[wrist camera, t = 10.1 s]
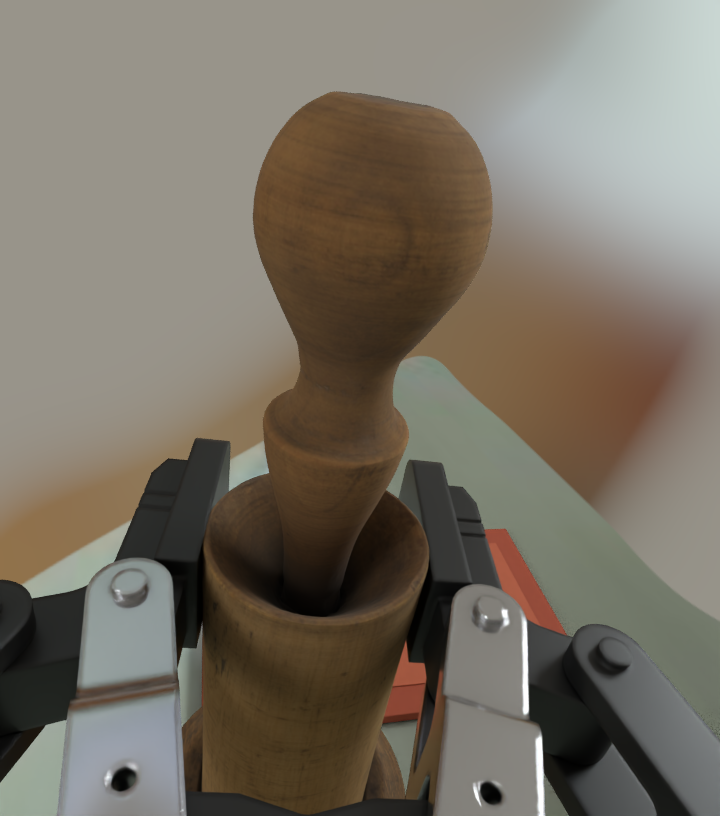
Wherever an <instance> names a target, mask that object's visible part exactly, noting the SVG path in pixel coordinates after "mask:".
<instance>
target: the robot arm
mask: <svg viewBox="0 0 720 816" xmlns="http://www.w3.org/2000/svg"><path fill="white" fill-rule="evenodd" d="M229 469H230V442H229V441H222V440H212V439H202V438H196V439H195V441H194V444H193V446H192V450H191V452H190V455H189V458H188V460H179V459H169V458H168V459H167V460H166V461H165V462H163V463H162V464H161V465H160V466H159V467H158V468H157V469H155V470H154V471H153V472H152V473H151V476H150V478H149V481H148V483H147V485H146V488H145V492H144V493H143V495H142V497H141V500H140V502H139V507H138V508H137V509H136V511H135V514H134V516H133V519H132V521H131V523H130V526H129V528H128V530H127V533H126V535H125V538H124V540H123V542H122V545H121V547H120V549H119V552H118V554H117V557H116V559H115V561H114V563H111V564H109V565H107V566H106V567H104V568H102V569H101V570H100V571H98V572H97V573H96V574H95V575H94V576H93V578H92V579H91V581H90V582H89V584H88V585H87V586H85V587H83V588H80V589H77V590H74V591H70V592H66V593H61V594H55V595H49V596H44V597H38V598H33V599H32V598H31V596H30V593H29V592H28V591H27V589H26V588H25V587H23V586H22V585H20V584H18V583H16V582H13V581H8V580H0V782H1V781H2V780H3V779H4V777H5V776H6V775H7V774H8V772H9V771H10V770H11V769H12V767H13V766H14V765H15V764H16V762H17V761H18V760H19V759H20V757H21V756H22V755H23V753H24V752H25V751H26V750H27V748H28V747H29V746H30V745H31V743H32V742H33V741H34V740H35V738H36V737H37V736H38V735H39V733H40V732H41V731H42V730H43V728H44V727H45V725H47V724H51V723H55V722H59V721H63V720H67V723H66V733H65V742H64V752H63V761H62V771H61V781H60V790H59V800H58V810H57V816H545V793H544V774H545V775H546V777H547V779H548V781H549V782H550V784H551V786H552V787H553V789H554V791H555V792H556V794H557V796H558V798H559V799H560V801H561V803H562V804H563V806H564V808H565V809H566V811H567V813H568V815H569V816H720V740H719V738H718V737H717V736H716V735H715V734H714V732H713V731H712V730H711V729H710V728H709V727H708V725H707V724H706V723H705V722H704V721H703V720H702V718H701V717H700V716H699V715H698V714H697V712H696V711H695V710H694V709H693V708H692V707H691V705H690V704H689V703H688V702H687V701H686V700H685V698H684V697H683V696H682V695H681V694H680V692H679V691H678V690H677V689H676V688H675V687H674V685H673V684H672V683H671V682H670V681H669V680H668V678H667V677H666V676H665V675H664V674H663V673H662V671H661V670H660V669H659V668H658V667H657V665H656V664H655V663H654V662H653V661H652V660H651V658H650V657H649V656H648V655H647V654H646V653H645V651H644V650H643V649H642V648H641V647H640V646H639V645H638V644H637V643H636V642H635V641H634V640H633V639H632V638H630V637H629V636H627V635H626V634H625V633H623V632H621V631H619V630H617V629H615V628H612V627H609V626H606V625H601V624H590V625H586V626H583V627H581V628H580V629H578V630H577V632H576V633H575V635H574V637H570V636H567V635H564V634H562V633H559V632H556V631H553V630H550V629H547V628H544V627H542V626H539V625H537V624H535V623H533V622H531V621H529V620H528V619H526V616H525V613H524V611H523V609H522V608H521V606H520V605H519V604H518V603H517V602H516V600H515V599H514V598H512V597H511V596H510V595H509V594H507V593H505V592H504V591H503V589H502V586H501V583H500V580H499V576H498V573H497V570H496V566H495V563H494V560H493V557H492V553H491V550H490V547H489V543H488V540H487V538H486V534H485V530H484V527H483V524H481V517H480V514H479V511H478V507H477V504H476V502H475V501H474V500H473V499H472V498H471V496H470V495H469V494H468V493H467V492H466V490H465V489H464V488H463V487H457V486H448V483H447V479H446V475H445V471H444V467H443V465H442V463H438V462H428V461H418V460H409V461H408V463H407V466H406V469H405V474H404V478H403V482H402V486H401V491H400V495H399V500H400V501H401V502H403V503H404V504H405V505H406V506H407V507H408V508H409V509H410V510H411V511H412V512H413V514H414V515H415V516H416V517H417V519H418V520H419V522H420V523H421V525H422V528H423V530H424V532H425V534H426V538H427V541H428V547H429V564H428V570H427V574H426V578H425V581H424V584H423V588H422V591H421V594H420V598H419V601H418V604H417V607H416V610H415V613H414V617H413V620H412V623H411V626H410V629H409V632H408V636H407V639H406V644H407V653H408V661H409V662H411V663H424V664H425V671H426V681H425V684H424V687H423V690H422V695H421V701H420V708H419V714H418V721H417V728H416V734H415V741H414V748H413V754H412V761H411V768H410V774H409V781H408V786H407V791H406V795H405V799H384V798H373V799H369V800H365V801H361V802H358V803H354V804H350V805H346V806H342V807H338V808H335V809H331V810H327V811H323V812H319V813H315V814H310V815H306V814H300V813H297V812H294V811H291V810H288V809H285V808H282V807H279V806H276V805H273V804H270V803H267V802H264V801H261V800H258V799H255V798H252V797H249V796H246V795H243V794H240V793H221V792H193V791H185V779H184V761H183V743H182V725H181V708H180V690H179V679H178V671H177V668H178V664H179V660H180V656H181V652H182V648H197V644H198V639H199V635H200V630H201V626H202V621H203V594H202V545H203V539H204V535H205V531H206V527H207V523H208V519H209V515H210V512H211V510H212V509H213V507H214V506H215V505H216V504H217V502H218V501H219V500H220V499H221V498H222V497H223V496H224V495H226V494H227V493H228V492H229Z"/></svg>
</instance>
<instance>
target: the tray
mask: <svg viewBox="0 0 720 816" xmlns="http://www.w3.org/2000/svg"><path fill="white" fill-rule="evenodd" d="M485 534H486V538H487V540H488V543H489V547H490V550H491V553H492V557H493V560H494V563H495V566H496V570H497V573H498V576H499V580H500V583H501V586H502V589H503V591H504V592H505V593H507V594H509V595H510V596H511V597H512V598H514V599H515V600H516V602H517V603H518V604H519V605H520V606H521V608H522V609H523V611H524V613H525V616H526V619H528V620H529V621H531V622H533V623H535V624H537V625H539V626H542V627H544V628H547V629H550V630H553V631H556V632H559V633H562V634H564V635H567V634H566V633H565V631H564V629H563V627H562V626H561V624H560V622H559V621H558V619H557V617H556V615H555V614H554V612H553V610H552V608H551V607H550V605H549V603H548V601H547V600H546V598H545V596H544V595H543V593H542V591H541V589H540V588H539V586H538V584H537V582H536V581H535V579H534V577H533V576H532V574H531V572H530V570H529V569H528V567H527V565H526V563H525V562H524V560H523V558H522V556H521V555H520V553H519V551H518V550H517V548H516V546H515V544H514V543H513V541H512V539H511V537H510V536H509V534H508V532H507V530H506V529H487V530H485ZM425 681H426V671H425V664H424V663H411V662H409V661H408V653H407V644H406V642H405V645H404V649H403V652H402V655H401V659H400V662H399V666H398V669H397V673H396V676H395V680H394V683H393V686H392V690H391V694H390V697H389V700H388V704H387V708H386V711H385V715H384V718H383V722H382V723H389V722H397V721H405V720H413V719H418V714H419V708H420V701H421V695H422V690H423V687H424V684H425ZM202 706H203V635H202Z"/></svg>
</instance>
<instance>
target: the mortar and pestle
mask: <svg viewBox="0 0 720 816" xmlns="http://www.w3.org/2000/svg"><path fill="white" fill-rule="evenodd" d="M253 224H254V234H255V239H256V243H257V247H258V251H259V254H260V258H261V261H262V264H263V266H264V268H265V271H266V273H267V276H268V278H269V280H270V283H271V285H272V287H273V290H274V292H275V294H276V297H277V299H278V301H279V303H280V305H281V308H282V310H283V312H284V314H285V316H286V319H287V321H288V323H289V325H290V327H291V329H292V331H293V334H294V336H295V338H296V340H297V344H298V349H299V357H300V365H301V369H300V373H299V377H298V380H297V382H296V385H295V386H294V388H293V389H291V390H288V391H286V392H284V393H282V394H280V395H279V396H277V397H276V398H275V399H273V400H272V401H271V403H270V404H269V405H268V407H267V409H266V411H265V414H264V418H263V429H264V444H265V452H266V458H267V464H268V468H269V473H268V474H264V475H260V476H257V477H255V478H252V479H250V480H247V481H245V482H243V483H241V484H240V485H238V486H237V487H235V488H234V489H232V490H231V491H229V492H228V493H227V494H226V495H224V496H223V497H222V498H221V499H220V500H219V501H218V502H217V504H216V505H215V506H214V507H213V509H212V510H211V512H210V515H209V519H208V523H207V527H206V531H205V535H204V539H203V545H202V594H203V706H202V707H201V708H200V709H198V710H197V711H196V712H195V713H194V714H193V715H192V716H191V717H190V718H189V720H188V721H187V722H186V723H185V724H184V725H183V727H182V743H183V761H184V779H185V791H193V792H221V793H240V794H243V795H246V796H249V797H252V798H255V799H258V800H261V801H264V802H267V803H270V804H273V805H276V806H279V807H282V808H285V809H288V810H291V811H294V812H297V813H300V814H306V815H310V814H315V813H319V812H323V811H327V810H331V809H335V808H338V807H342V806H346V805H350V804H354V803H358V802H361V801H365V800H369V799H373V798H384V799H405V790H404V784H403V779H402V775H401V771H400V768H399V765H398V762H397V760H396V757H395V755H394V752H393V750H392V748H391V746H390V744H389V742H388V740H387V739H386V737H385V735H384V734H383V732H382V731H381V726H382V722H383V718H384V715H385V711H386V708H387V704H388V700H389V697H390V694H391V690H392V686H393V683H394V680H395V676H396V673H397V669H398V666H399V662H400V659H401V655H402V652H403V649H404V645H405V642H406V639H407V636H408V632H409V629H410V626H411V623H412V620H413V617H414V613H415V610H416V607H417V604H418V601H419V598H420V594H421V591H422V588H423V584H424V581H425V578H426V574H427V570H428V564H429V547H428V541H427V538H426V534H425V532H424V530H423V528H422V525H421V523H420V522H419V520H418V519H417V517H416V516H415V515H414V514H413V512H412V511H411V510H410V509H409V508H408V507H407V506H406V505H405V504H404V503H403V502H401V501H400V500H399V499H398V498H397V497H395V496H394V495H393V494H391V493H390V492H388V491H387V490H386V489H387V487H388V485H389V483H390V482H391V480H392V478H393V476H394V474H395V472H396V470H397V467H398V465H399V463H400V461H401V458H402V456H403V454H404V451H405V449H406V446H407V443H408V439H409V430H408V426H407V424H406V421H405V419H404V418H403V416H402V415H401V414H400V412H399V411H398V410H397V409H396V408H395V407H394V405H393V382H394V377H395V374H396V371H397V368H398V366H399V364H400V362H401V361H402V359H403V358H404V357H405V356H406V355H407V354H408V353H409V352H410V351H411V350H412V349H413V348H414V347H415V346H416V345H417V344H418V343H419V342H420V341H421V340H422V339H423V338H424V337H425V336H426V335H427V334H428V333H429V332H430V331H431V329H432V328H433V327H434V326H435V325H436V324H437V323H438V322H439V321H440V319H441V318H442V317H443V316H444V315H445V314H446V313H447V312H448V311H449V310H450V309H451V308H452V306H453V305H454V304H455V303H456V302H457V301H458V300H459V299H460V297H461V296H462V295H463V294H464V292H465V291H466V290H467V288H468V287H469V285H470V284H471V282H472V281H473V279H474V278H475V276H476V274H477V272H478V270H479V269H480V266H481V264H482V262H483V259H484V256H485V254H486V250H487V247H488V242H489V238H490V232H491V226H492V193H491V185H490V180H489V176H488V172H487V168H486V165H485V163H484V160H483V157H482V155H481V152H480V150H479V148H478V146H477V144H476V142H475V141H474V140H473V138H472V137H471V136H470V134H469V133H468V132H467V131H466V130H465V129H464V128H463V127H462V126H461V125H460V124H459V123H458V121H457V120H456V119H455V118H454V117H453V116H452V115H451V114H450V113H448V112H446V111H443V110H440V109H437V108H434V107H431V106H427V105H421V104H415V103H409V102H404V101H399V100H394V99H390V98H385V97H380V96H372V95H367V94H361V93H347V92H330V93H327V94H325V95H323V96H321V97H319V98H317V99H315V100H313V101H311V102H309V103H308V104H306V105H305V106H303V107H302V108H301V109H299V110H298V111H297V112H296V113H295V114H294V115H293V116H292V117H291V118H290V119H289V120H288V122H287V123H286V124H285V125H284V127H283V128H282V129H281V130H280V132H279V133H278V135H277V136H276V138H275V140H274V141H273V143H272V145H271V147H270V149H269V151H268V153H267V155H266V157H265V160H264V162H263V164H262V167H261V170H260V174H259V177H258V181H257V186H256V191H255V197H254V209H253Z"/></svg>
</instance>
